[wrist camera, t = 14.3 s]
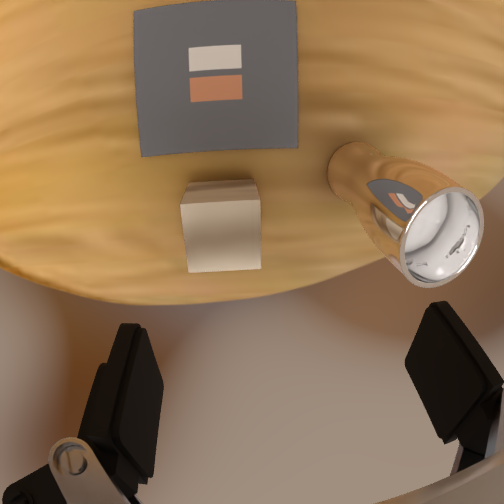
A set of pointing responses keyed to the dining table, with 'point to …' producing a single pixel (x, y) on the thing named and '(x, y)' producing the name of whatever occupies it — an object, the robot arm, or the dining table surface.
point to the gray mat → (216, 76)
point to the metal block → (222, 225)
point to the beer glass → (409, 212)
